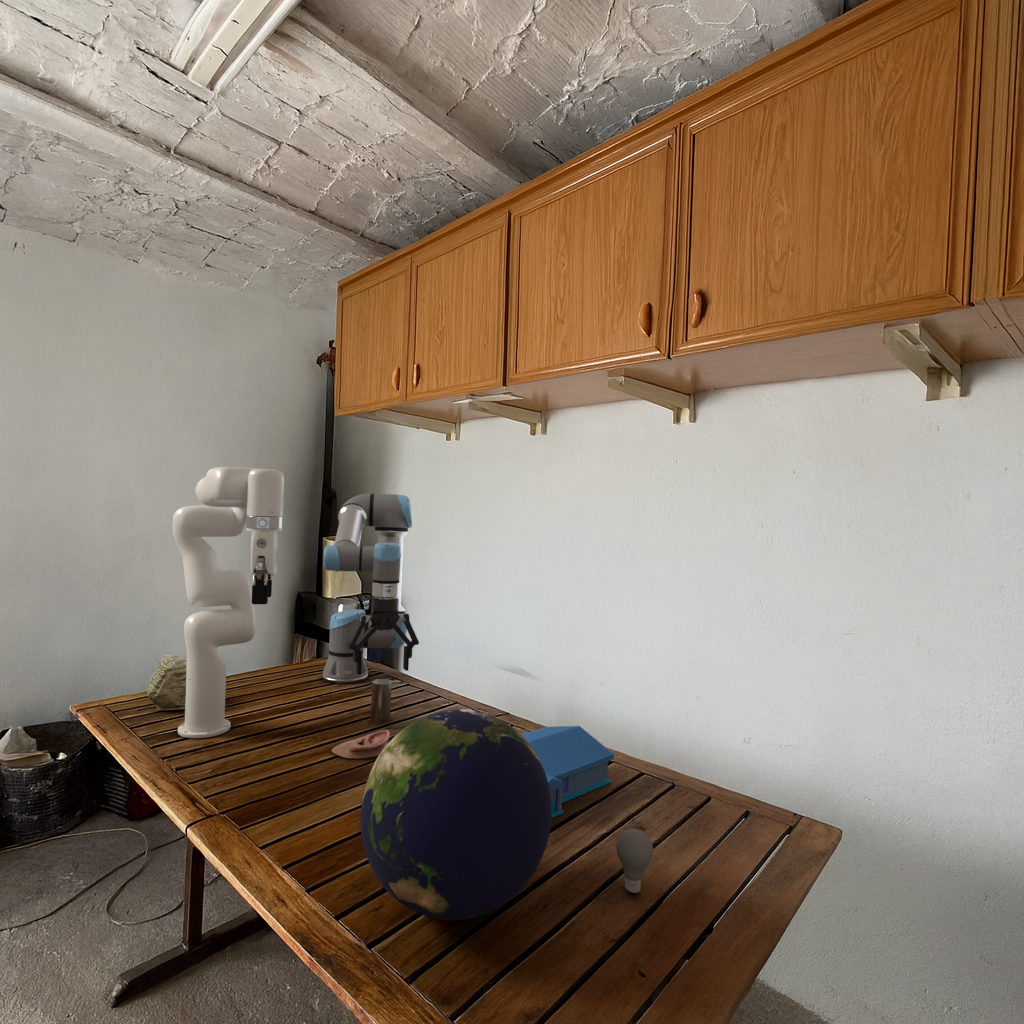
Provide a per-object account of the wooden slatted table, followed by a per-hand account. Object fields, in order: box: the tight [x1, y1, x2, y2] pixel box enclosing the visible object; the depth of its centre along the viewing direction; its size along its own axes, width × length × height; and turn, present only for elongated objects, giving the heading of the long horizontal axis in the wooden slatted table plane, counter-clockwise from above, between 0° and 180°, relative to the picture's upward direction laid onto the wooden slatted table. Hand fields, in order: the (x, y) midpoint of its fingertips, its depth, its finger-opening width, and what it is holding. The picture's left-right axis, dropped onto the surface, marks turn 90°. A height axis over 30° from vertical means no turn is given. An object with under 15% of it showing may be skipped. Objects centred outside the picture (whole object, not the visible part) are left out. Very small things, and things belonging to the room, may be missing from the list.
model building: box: [520, 725, 615, 819], centre depth 140 cm, size 39×24×10 cm, turn 132°
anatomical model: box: [331, 729, 391, 759], centre depth 159 cm, size 13×4×12 cm
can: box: [370, 678, 392, 725], centre depth 180 cm, size 5×5×11 cm
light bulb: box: [615, 828, 654, 894], centre depth 106 cm, size 6×6×10 cm
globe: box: [360, 708, 553, 922], centre depth 100 cm, size 30×30×30 cm
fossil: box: [147, 654, 187, 712], centre depth 185 cm, size 9×18×15 cm, turn 132°
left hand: (261, 600), depth 142 cm, fingers open, 9 cm apart
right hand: (382, 671), depth 180 cm, fingers open, 13 cm apart
